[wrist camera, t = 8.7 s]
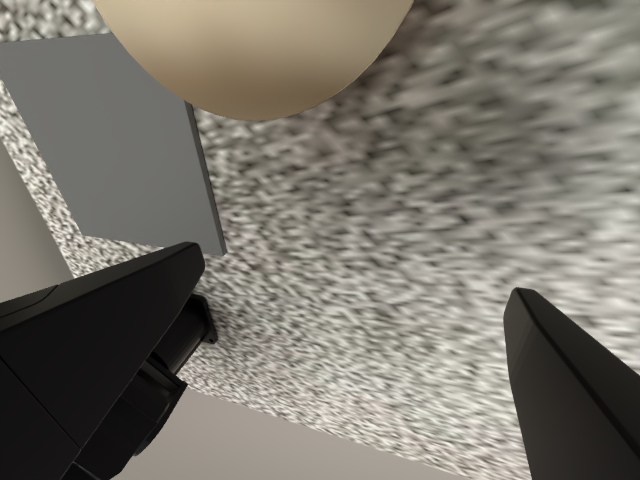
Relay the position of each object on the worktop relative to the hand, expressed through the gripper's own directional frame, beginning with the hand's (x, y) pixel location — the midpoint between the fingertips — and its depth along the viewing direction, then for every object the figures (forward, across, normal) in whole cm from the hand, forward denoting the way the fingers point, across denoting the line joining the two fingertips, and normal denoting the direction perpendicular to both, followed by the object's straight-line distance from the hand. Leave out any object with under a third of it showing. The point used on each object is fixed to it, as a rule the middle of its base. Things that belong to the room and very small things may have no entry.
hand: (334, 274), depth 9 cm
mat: (+12, +21, +1) cm, 24 cm away
